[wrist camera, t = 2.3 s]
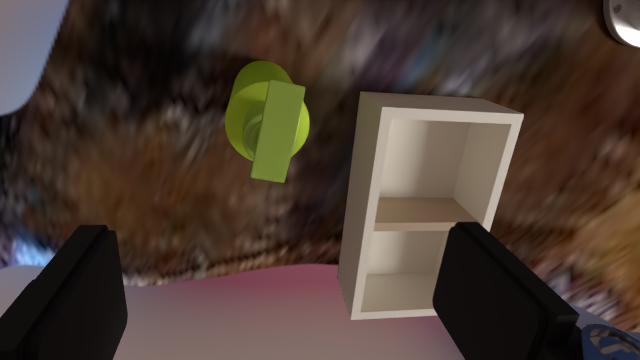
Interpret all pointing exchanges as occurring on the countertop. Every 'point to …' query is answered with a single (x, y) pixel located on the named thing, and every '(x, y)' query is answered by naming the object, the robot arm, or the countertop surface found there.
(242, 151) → the soap dispenser
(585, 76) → the countertop surface
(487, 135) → the caddy
